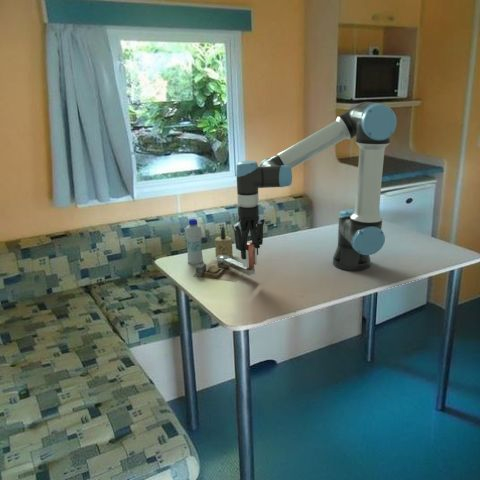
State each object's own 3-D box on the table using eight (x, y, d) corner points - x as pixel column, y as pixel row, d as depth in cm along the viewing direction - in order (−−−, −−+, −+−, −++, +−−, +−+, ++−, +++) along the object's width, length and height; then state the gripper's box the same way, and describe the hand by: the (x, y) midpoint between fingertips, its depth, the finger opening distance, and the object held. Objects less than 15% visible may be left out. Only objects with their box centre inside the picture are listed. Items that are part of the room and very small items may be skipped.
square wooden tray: (252, 267, 201) (252, 254, 199) (235, 285, 184) (235, 272, 182) (212, 262, 207) (211, 250, 205) (192, 279, 190) (192, 266, 188)
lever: (214, 261, 197) (213, 233, 193) (224, 258, 200) (223, 230, 196) (248, 276, 182) (247, 246, 178) (257, 273, 184) (257, 243, 180)
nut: (220, 272, 192) (220, 263, 191) (216, 276, 189) (216, 266, 188) (211, 271, 194) (210, 262, 192) (207, 275, 190) (206, 265, 189)
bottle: (206, 262, 207) (203, 217, 200) (198, 268, 201) (195, 222, 195) (192, 260, 210) (189, 216, 203) (184, 266, 204) (181, 220, 197)
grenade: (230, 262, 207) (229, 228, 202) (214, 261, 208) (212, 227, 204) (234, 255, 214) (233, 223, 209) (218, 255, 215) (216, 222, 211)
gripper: (259, 198, 183) (260, 257, 190) (223, 206, 174) (226, 267, 181) (272, 202, 177) (273, 262, 185) (235, 211, 168) (238, 273, 176)
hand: (250, 265), depth 183 cm, fingers closed on lever, 3 cm apart
